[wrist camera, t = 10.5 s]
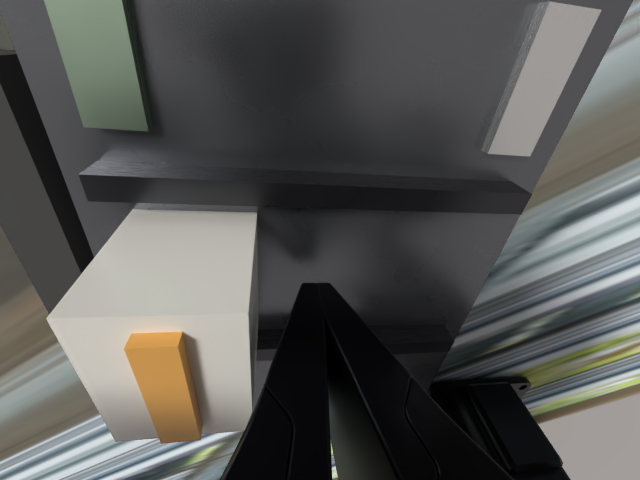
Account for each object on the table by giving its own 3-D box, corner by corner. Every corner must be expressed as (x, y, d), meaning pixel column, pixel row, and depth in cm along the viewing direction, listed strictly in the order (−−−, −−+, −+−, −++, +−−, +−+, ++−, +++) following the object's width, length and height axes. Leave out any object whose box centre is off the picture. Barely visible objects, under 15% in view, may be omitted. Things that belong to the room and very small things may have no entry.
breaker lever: (258, 317, 10) (252, 443, 7) (162, 320, 10) (109, 457, 7) (256, 212, 8) (247, 327, 5) (132, 209, 8) (33, 334, 4)
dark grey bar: (133, 334, 13) (120, 364, 12) (96, 335, 12) (78, 366, 11) (33, 52, 7) (-12, 56, 6) (-36, 45, 7) (-98, 48, 6)
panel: (408, 362, 16) (430, 416, 14) (169, 375, 14) (149, 440, 12) (574, -30, 8) (706, -58, 5) (22, -132, 6) (-149, -244, 3)
